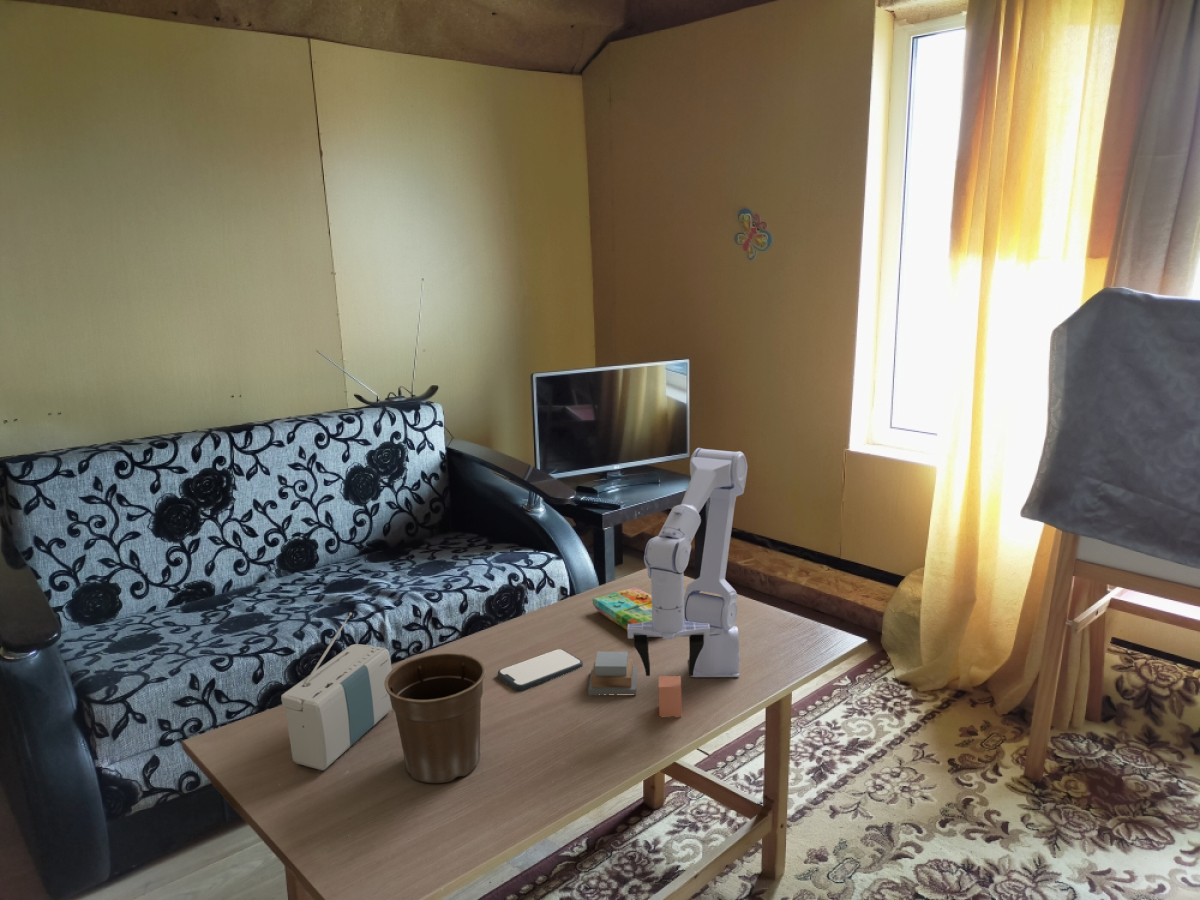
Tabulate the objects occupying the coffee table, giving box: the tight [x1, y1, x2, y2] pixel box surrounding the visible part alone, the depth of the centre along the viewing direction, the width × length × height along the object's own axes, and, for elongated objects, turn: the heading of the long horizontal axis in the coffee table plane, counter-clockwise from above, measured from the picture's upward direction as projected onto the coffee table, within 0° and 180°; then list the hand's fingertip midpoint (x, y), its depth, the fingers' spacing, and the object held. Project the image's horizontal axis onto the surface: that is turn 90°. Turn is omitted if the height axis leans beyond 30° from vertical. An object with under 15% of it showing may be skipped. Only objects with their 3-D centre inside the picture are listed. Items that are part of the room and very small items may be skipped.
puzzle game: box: [592, 586, 652, 631], centre depth 191 cm, size 12×5×20 cm
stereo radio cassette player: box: [280, 612, 393, 771], centre depth 147 cm, size 21×8×20 cm, turn 160°
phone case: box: [497, 648, 584, 692], centre depth 170 cm, size 9×2×16 cm
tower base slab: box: [587, 665, 638, 696], centre depth 164 cm, size 9×9×2 cm
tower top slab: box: [594, 651, 629, 676], centre depth 163 cm, size 6×6×2 cm
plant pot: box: [384, 652, 486, 784], centre depth 139 cm, size 16×16×16 cm
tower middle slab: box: [592, 658, 634, 687], centre depth 164 cm, size 8×8×2 cm
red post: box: [658, 675, 683, 716], centre depth 153 cm, size 4×4×6 cm
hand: (669, 673), depth 152 cm, fingers open, 7 cm apart
